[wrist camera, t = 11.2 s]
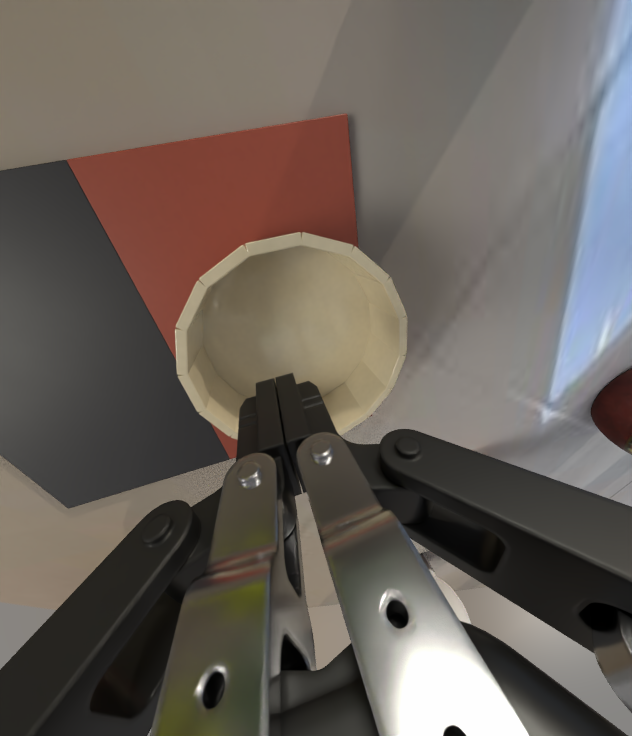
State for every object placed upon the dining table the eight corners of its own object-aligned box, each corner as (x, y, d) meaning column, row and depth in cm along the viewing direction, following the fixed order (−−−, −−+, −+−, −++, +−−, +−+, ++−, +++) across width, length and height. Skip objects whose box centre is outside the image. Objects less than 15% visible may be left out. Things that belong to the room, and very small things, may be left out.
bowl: (234, 423, 19) (229, 471, 15) (157, 259, 13) (116, 269, 9) (377, 382, 20) (405, 417, 16) (367, 216, 14) (409, 209, 10)
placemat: (71, 504, 20) (68, 508, 19) (-279, 220, 10) (-298, 219, 9) (370, 413, 22) (372, 415, 22) (344, 116, 12) (347, 112, 12)
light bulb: (405, 574, 43) (448, 670, 33) (389, 565, 39) (433, 669, 30) (438, 555, 42) (491, 648, 32) (425, 544, 38) (481, 644, 29)
